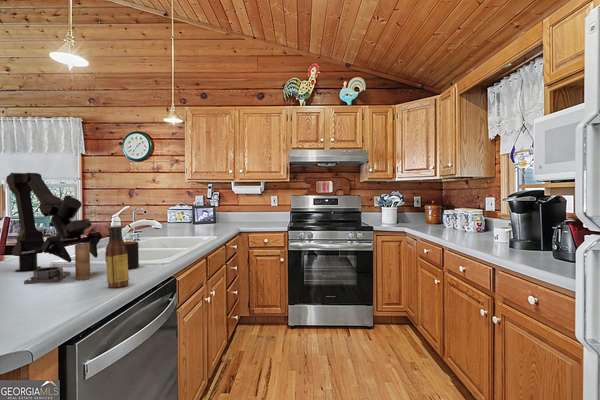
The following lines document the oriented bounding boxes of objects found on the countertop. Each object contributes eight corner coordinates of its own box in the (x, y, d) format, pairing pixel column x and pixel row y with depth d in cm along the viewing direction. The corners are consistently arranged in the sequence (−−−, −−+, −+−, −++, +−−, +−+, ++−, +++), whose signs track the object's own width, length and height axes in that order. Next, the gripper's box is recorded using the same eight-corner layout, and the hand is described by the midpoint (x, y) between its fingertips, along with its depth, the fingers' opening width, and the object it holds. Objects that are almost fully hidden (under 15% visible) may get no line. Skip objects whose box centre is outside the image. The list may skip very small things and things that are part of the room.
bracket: (39, 276, 128) (39, 266, 128) (70, 274, 131) (70, 264, 131) (23, 284, 117) (23, 273, 117) (58, 281, 120) (58, 271, 120)
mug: (105, 268, 141) (104, 243, 141) (137, 265, 147) (137, 240, 147) (106, 272, 134) (105, 245, 134) (139, 268, 140) (139, 243, 140)
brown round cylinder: (78, 278, 125) (77, 243, 125) (91, 277, 126) (91, 243, 126) (73, 281, 121) (73, 245, 121) (88, 280, 122) (87, 244, 122)
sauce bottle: (132, 283, 117) (131, 225, 117) (123, 288, 111) (122, 226, 111) (112, 283, 117) (111, 225, 117) (102, 288, 111) (101, 227, 111)
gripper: (45, 213, 117) (65, 248, 112) (98, 210, 133) (118, 240, 129) (33, 235, 120) (52, 270, 116) (86, 230, 137) (105, 260, 132)
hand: (84, 259), depth 123 cm, fingers open, 9 cm apart
